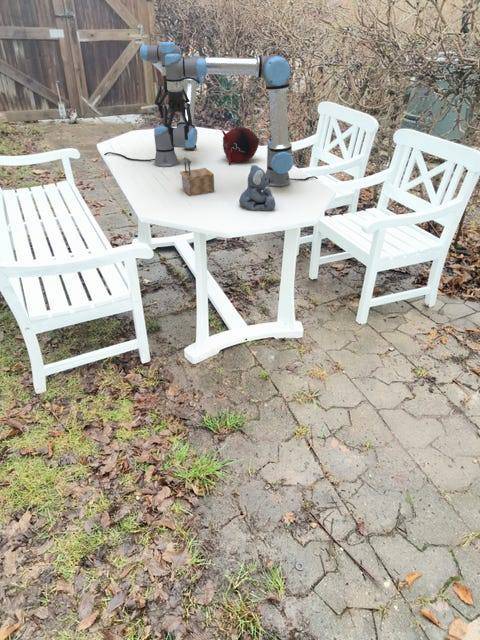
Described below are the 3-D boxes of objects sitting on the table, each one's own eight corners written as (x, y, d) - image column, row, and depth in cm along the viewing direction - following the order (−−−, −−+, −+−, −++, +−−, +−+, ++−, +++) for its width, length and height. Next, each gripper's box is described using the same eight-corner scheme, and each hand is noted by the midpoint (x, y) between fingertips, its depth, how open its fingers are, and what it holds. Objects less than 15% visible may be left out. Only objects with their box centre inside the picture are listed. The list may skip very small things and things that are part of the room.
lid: (187, 180, 237) (186, 162, 232) (179, 174, 246) (178, 156, 241) (213, 176, 243) (213, 158, 238) (205, 170, 252) (204, 153, 246)
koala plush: (276, 211, 223) (277, 171, 212) (240, 212, 222) (240, 172, 211) (271, 199, 237) (272, 161, 226) (237, 200, 236) (237, 162, 225)
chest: (190, 195, 243) (189, 179, 238) (182, 189, 252) (181, 173, 247) (214, 191, 248) (213, 176, 243) (206, 185, 257) (205, 170, 252)
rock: (192, 148, 330) (179, 150, 326) (190, 136, 327) (178, 137, 323) (198, 149, 321) (185, 151, 317) (197, 136, 317) (184, 137, 313)
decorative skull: (219, 133, 304) (219, 130, 280) (253, 125, 303) (256, 122, 279) (226, 165, 310) (227, 165, 287) (260, 158, 310) (263, 157, 286)
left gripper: (149, 77, 239) (154, 120, 251) (193, 74, 248) (195, 116, 260) (145, 75, 244) (150, 117, 256) (188, 73, 253) (191, 113, 265)
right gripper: (157, 93, 211) (162, 144, 224) (197, 90, 218) (200, 139, 231) (153, 91, 217) (158, 141, 230) (191, 88, 224) (194, 136, 237)
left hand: (173, 117), depth 258 cm, fingers open, 13 cm apart
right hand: (179, 140), depth 231 cm, fingers open, 7 cm apart
